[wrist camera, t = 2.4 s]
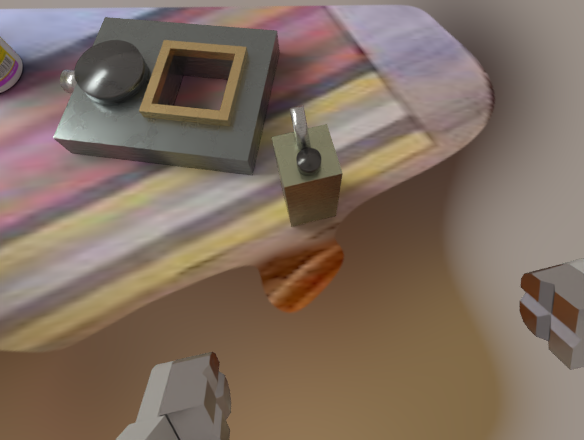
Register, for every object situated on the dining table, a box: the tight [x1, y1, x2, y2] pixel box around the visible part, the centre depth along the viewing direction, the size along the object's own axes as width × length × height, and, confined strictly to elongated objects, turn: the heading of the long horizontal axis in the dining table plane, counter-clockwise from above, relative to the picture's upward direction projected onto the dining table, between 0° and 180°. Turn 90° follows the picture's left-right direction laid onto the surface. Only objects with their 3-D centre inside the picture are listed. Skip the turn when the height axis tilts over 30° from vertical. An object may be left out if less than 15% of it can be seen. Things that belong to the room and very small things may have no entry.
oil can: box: [272, 106, 342, 227], centre depth 31 cm, size 4×5×12 cm
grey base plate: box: [53, 17, 279, 175], centre depth 39 cm, size 22×16×4 cm
